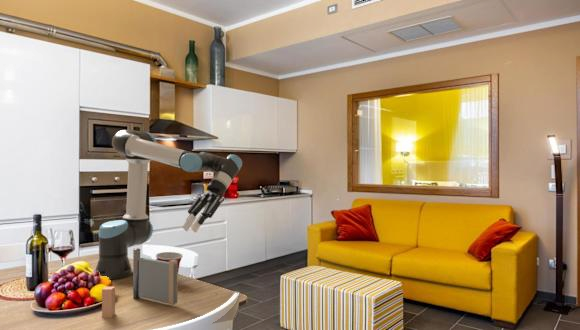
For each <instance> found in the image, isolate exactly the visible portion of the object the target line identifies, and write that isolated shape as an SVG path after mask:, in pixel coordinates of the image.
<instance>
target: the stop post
mask: <svg viewBox="0 0 580 330" xmlns="http://www.w3.org/2000/svg"><path fill="white" fill-rule="evenodd" d="M115 314H116V286H105V287H103V288H102V289H101V317H102V318H112V317H113V316H114V315H115Z"/></svg>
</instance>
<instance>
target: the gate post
mask: <svg viewBox="0 0 580 330" xmlns="http://www.w3.org/2000/svg"><path fill="white" fill-rule="evenodd" d="M132 254H133V256H132V257H133V258H132V261H133V263H132V267H133V268H132V274H133V276H132V278H133V279H132V284H133V285H132V292H133V293H132V299H134V300H138V299H140V298H141V297H139V258H141V248H133V250H132Z"/></svg>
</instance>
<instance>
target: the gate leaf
mask: <svg viewBox="0 0 580 330" xmlns="http://www.w3.org/2000/svg"><path fill="white" fill-rule="evenodd" d="M139 297H140V298H143V299H147V300H151V301H156V302H159V303H163V304H168V305H170V306H174V305H177V304H178V275H177V260H171V261H169V262H166V261H160V260H157V259H153V258H149V257H148V258H147V257H140V258H139Z"/></svg>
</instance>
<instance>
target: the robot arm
mask: <svg viewBox="0 0 580 330" xmlns="http://www.w3.org/2000/svg"><path fill="white" fill-rule="evenodd" d="M111 146H112V148H113V150H114V151H115V152H116V153H117V154H119V155H121V156H125V159H124V160H125V161H127V162H128V168H127V171H128V172H127V190H126V206H125V207H126V208H125V211H126V213H125V214H124V215H123V216H122V218H121V219H118V220H115V219H114V220H110V221H107V222H104V223H102V224H101V225H100V226H99V229H98V260H97V263H96V266H95V268H94V269H95V270H94V272H95V271H97V270H98V271H99V272H100V275H101V276H107V277H109V278H111V279H110V280H117V279H122V278H126V277H129V276H131V275H132V274H133V268H132V267H133V266H132V263H130V259H129V254H128V251H129V249H128V248H131V247H134V246H139V245H143V244H144V243H147V242H148V241H149V240H150V239H151V237H152V235H153V231H154V227H153V224H152V222H151V221H150V220H149V215H148V214H146V209H147V208H146V206H147V191H148V190H147V188H148V187H147V186H148V167H149V163H150V162H151V161H154V162H159V163H162V164H165V165H169V166H173V167H176V168H179V169H182V170H183V171H185V172H189V173H197V172H211V173H213V174H214V175H213V176H212V178H211V180H210V181H209V183H208V184H207V186H206V191H205V192H203V194H201V193H198V194H197V196H196V198H195V200H194V201H193V202H192V204H191V206H190V207H189V209H188V210H187V213H188V214H189V215H188V217H187V219H185V222H184V223H183V225H182V226H181V228H182V229H183V230H184V231H185V232H188V231H189V230H190V229H191V230H192V231H193V232H194V233H197V232H198V230H199V229H200V227H201V226H202V225H203V224H204V223H205V221H206V219H208V218H210V219H211V218H212V217H213V216H214V214H215V213H216V211H217V210H218V208H220V206H221V204H222V203H223V202H224V201H225V198H224V197H223V196H224V195H225V194H226V191H227V190H228V188H229V187H230V185H231V183H232V182H233V180H234V179H235V177H236V176H237V174H238V173H239V172H240V170H241V168H242V166H243V160H242V159H241V158H240V157H239V156H238V155H236V154H229V155H227V157H224V156H218V155H215V154H213V153H210V152H206V151H205V152H204V151H201V152H199V153H197V152H192V151H187V150H184V149H180V148H177V147H173V146H170V145H165V144H160V143H158V142H157V139H156V137H155V136H154V135H153V134H151V133H150V132H148V131H143V130H131V129H122V130H118V131H117V132H116V133H115V134H114V136H113V137H112V140H111ZM202 210H203V211H202ZM201 211H202V212H201ZM198 214H199V215H198ZM197 216H198V217H197Z"/></svg>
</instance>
